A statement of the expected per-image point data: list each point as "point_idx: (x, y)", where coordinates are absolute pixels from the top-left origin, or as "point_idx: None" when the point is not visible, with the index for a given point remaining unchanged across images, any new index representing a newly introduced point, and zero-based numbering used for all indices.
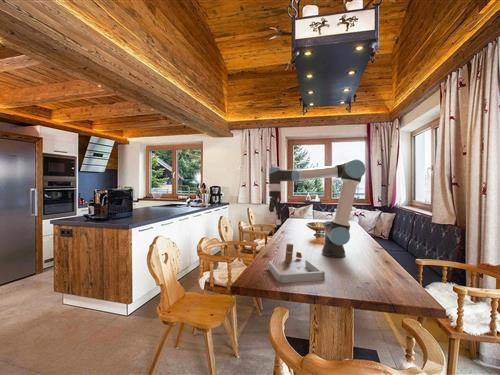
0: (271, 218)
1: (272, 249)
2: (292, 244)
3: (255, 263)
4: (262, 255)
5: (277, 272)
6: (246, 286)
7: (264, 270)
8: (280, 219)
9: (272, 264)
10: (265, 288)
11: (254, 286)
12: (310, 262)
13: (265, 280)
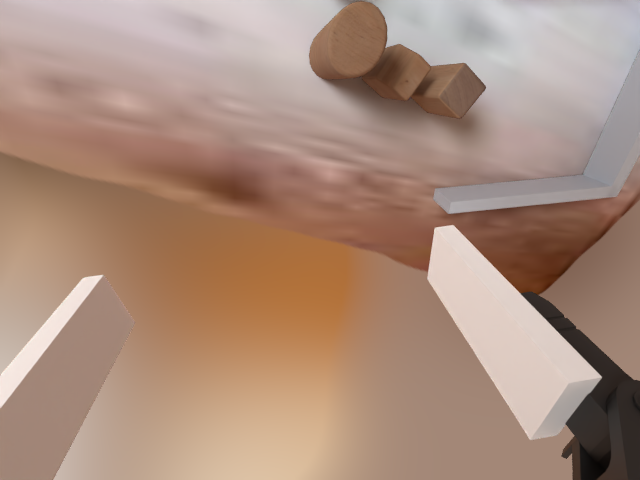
0: (99, 354)
1: (38, 111)
2: (364, 10)
3: (351, 243)
4: (217, 201)
5: (589, 197)
6: (549, 277)
7: (447, 217)
8: (505, 282)
9: (492, 201)
10: (594, 231)
11: (562, 258)
12: None
13: (540, 225)
